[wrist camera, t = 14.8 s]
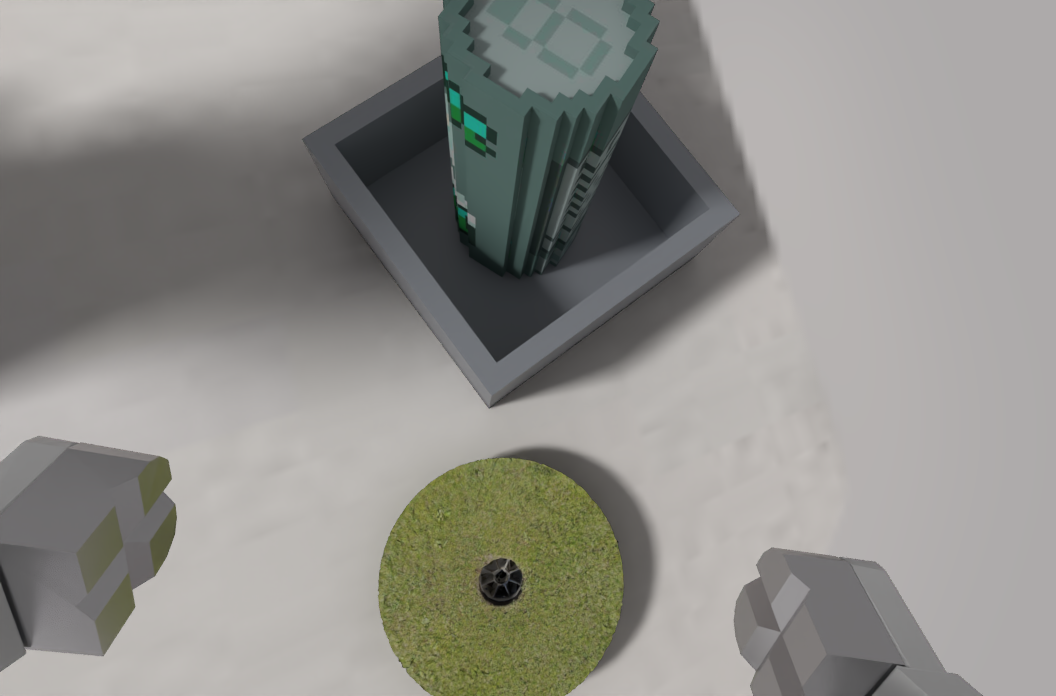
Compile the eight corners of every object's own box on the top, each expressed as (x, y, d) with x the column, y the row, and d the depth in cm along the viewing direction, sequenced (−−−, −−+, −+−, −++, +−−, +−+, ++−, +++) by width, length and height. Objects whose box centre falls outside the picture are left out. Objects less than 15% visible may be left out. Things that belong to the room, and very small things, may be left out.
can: (499, 146, 33) (517, -108, 18) (595, 206, 33) (691, -2, 18) (436, 235, 32) (401, 40, 17) (535, 298, 32) (586, 155, 17)
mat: (478, 412, 31) (478, 409, 29) (658, 546, 31) (670, 552, 29) (335, 604, 29) (325, 614, 27) (526, 751, 29) (529, 772, 27)
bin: (333, 197, 33) (302, 138, 27) (541, 66, 35) (554, -14, 29) (488, 408, 31) (491, 395, 26) (694, 257, 34) (740, 213, 28)
